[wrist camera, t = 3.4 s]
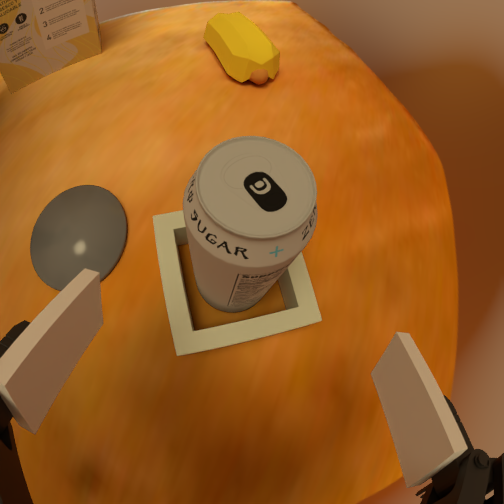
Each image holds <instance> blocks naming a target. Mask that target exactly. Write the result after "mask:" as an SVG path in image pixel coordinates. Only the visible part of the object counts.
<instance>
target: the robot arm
mask: <svg viewBox="0 0 504 504" xmlns="http://www.w3.org/2000/svg"><path fill="white" fill-rule="evenodd" d="M102 325H103V315H102V304H101V290H100V273H99V272H96V271H92V270H89V269H84V270H82V271H81V272H80V273H79V274H78V275H77V276H76V277H75V278H74V279H73V280H72V281H71V282H70V283H69V284H68V285H67V286H66V287H65V288H64V289H63V290H62V291H61V292H60V293H59V294H58V295H57V296H56V297H55V298H54V299H53V300H52V301H51V302H50V303H49V304H48V305H47V306H46V307H45V308H44V309H43V310H42V311H41V313H40V314H39V315H38V316H37V317H36V318H35V319H34V320H33V321H32V322H31V323H30V322H28V321H25V320H24V321H23V322H21V323H19V324H17V325H15V326H14V327H13V328H12V329H11V330H10V331H9V332H8V333H7V334H6V337H4V338H3V339H2V340H1V341H0V504H33V501H32V499H31V496H30V493H29V490H28V487H27V484H26V481H25V478H24V475H23V471H22V468H21V464H20V460H19V456H18V452H17V448H16V444H15V439H14V434H13V429H12V425H11V423H10V420H11V419H12V417H14V418H15V420H16V421H17V423H18V424H19V425H20V426H22V427H23V428H25V429H27V430H28V431H30V432H32V433H33V434H36V432H37V431H38V429H39V427H40V425H41V423H42V421H43V419H44V418H45V416H46V414H47V412H48V410H49V409H50V407H51V405H52V403H53V402H54V400H55V398H56V397H57V395H58V393H59V392H60V390H61V388H62V386H63V385H64V383H65V382H66V380H67V378H68V377H69V375H70V373H71V372H72V370H73V369H74V367H75V365H76V364H77V362H78V361H79V359H80V358H81V356H82V354H83V353H84V351H85V350H86V348H87V347H88V345H89V344H90V342H91V341H92V339H93V338H94V336H95V335H96V333H97V332H98V330H99V329H100V327H101V326H102ZM371 376H372V378H373V381H374V384H375V387H376V390H377V393H378V395H379V398H380V401H381V404H382V407H383V410H384V413H385V416H386V419H387V422H388V425H389V428H390V432H391V435H392V438H393V441H394V444H395V448H396V451H397V454H398V458H399V461H400V465H401V468H402V472H403V476H404V479H405V483H406V487H407V488H409V487H413V486H417V485H421V484H422V483H424V482H425V481H427V480H428V479H430V478H432V483H430V484H429V485H427V486H426V487H424V488H423V489H421V490H420V491H418V492H417V494H416V496H418V495H420V494H422V493H423V492H425V491H426V492H425V494H423V495H422V496H421V497H420V498H422V501H421V503H420V504H504V453H503V454H502V455H501V456H500V457H498V458H489V456H488V455H487V453H485V452H484V451H483V450H480V449H475V450H474V448H473V446H472V444H471V442H470V440H469V438H468V435H467V433H466V431H465V429H464V426H463V425H462V423H461V422H460V418H459V416H458V415H457V412H456V410H455V408H454V406H453V404H452V403H451V402H450V400H449V399H448V398H447V397H446V396H445V395H444V396H443V394H442V392H441V390H440V388H439V386H438V384H437V383H436V381H435V379H434V377H433V375H432V373H431V371H430V369H429V368H428V366H427V364H426V362H425V360H424V359H423V357H422V355H421V353H420V352H419V350H418V348H417V346H416V345H415V343H414V341H413V339H412V338H411V336H410V334H409V333H402V332H396V333H395V335H394V337H393V339H392V340H391V342H390V344H389V345H388V347H387V349H386V350H385V352H384V354H383V355H382V357H381V358H380V360H379V362H378V363H377V365H376V366H375V368H374V369H373V371H372V372H371ZM492 490H494V495H493V496H492V497H490V498H489V499H487V500H486V499H485V495H486V494H488V493H489V492H491V491H492Z"/></svg>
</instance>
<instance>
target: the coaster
mask: <svg viewBox="0 0 504 504" xmlns="http://www.w3.org/2000/svg"><path fill="white" fill-rule="evenodd" d="M126 239H127V220H126V216H125V213H124V210H123V208H122V206H121V204H120V203H119V201H118V199H117V198H116V197H115V196H114V195H113V194H112V193H111V192H109V191H108V190H106V189H104V188H101V187H99V186H94V185H82V186H77V187H74V188H71V189H68V190H66V191H64V192H62V193H61V194H59V195H58V196H57V197H55V198H54V199H53V200H52V201H51V202H50V203H49V204H48V205H47V206H46V207H45V208H44V210H43V211H42V213H41V214H40V216H39V218H38V219H37V222H36V224H35V226H34V229H33V232H32V237H31V245H30V252H31V259H32V263H33V266H34V268H35V271H36V272H37V274H38V276H39V277H40V278H41V279H42V281H44V282H45V283H46V284H47V285H49V286H50V287H52V288H54V289H56V290H59V291H62V290H63V289H64V288H65V287H66V286H67V285H68V284H69V283H70V282H71V281H72V280H73V279H74V278H75V277H76V276H77V275H78V274H79V273H80V272H81V271H82V270H84V269H89V270H92V271H96V272H99V273H100V282H101V281H102V280H104V279H105V278H106V277H107V276H108V275H109V274H110V273H111V271H112V270H113V269H114V268H115V266H116V264H117V263H118V261H119V259H120V257H121V255H122V253H123V250H124V247H125V244H126Z"/></svg>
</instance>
